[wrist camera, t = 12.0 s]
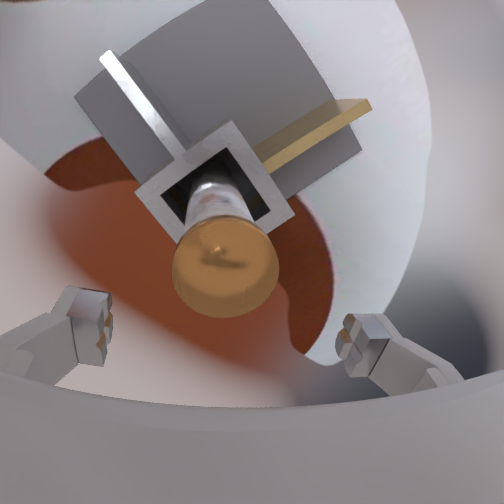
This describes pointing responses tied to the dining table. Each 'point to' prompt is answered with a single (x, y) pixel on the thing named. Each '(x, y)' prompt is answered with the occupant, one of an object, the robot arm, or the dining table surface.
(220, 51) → the base board
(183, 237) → the hinge pin
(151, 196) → the hinge
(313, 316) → the dining table surface
